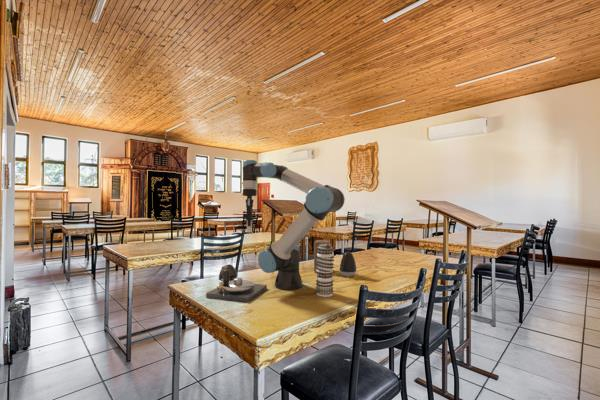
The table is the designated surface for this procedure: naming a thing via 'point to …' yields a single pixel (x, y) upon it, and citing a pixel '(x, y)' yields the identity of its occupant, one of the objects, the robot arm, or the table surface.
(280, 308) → the table surface
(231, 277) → the fossil
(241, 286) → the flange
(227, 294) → the clock base
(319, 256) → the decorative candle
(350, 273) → the dark grey tapered dome
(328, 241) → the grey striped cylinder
